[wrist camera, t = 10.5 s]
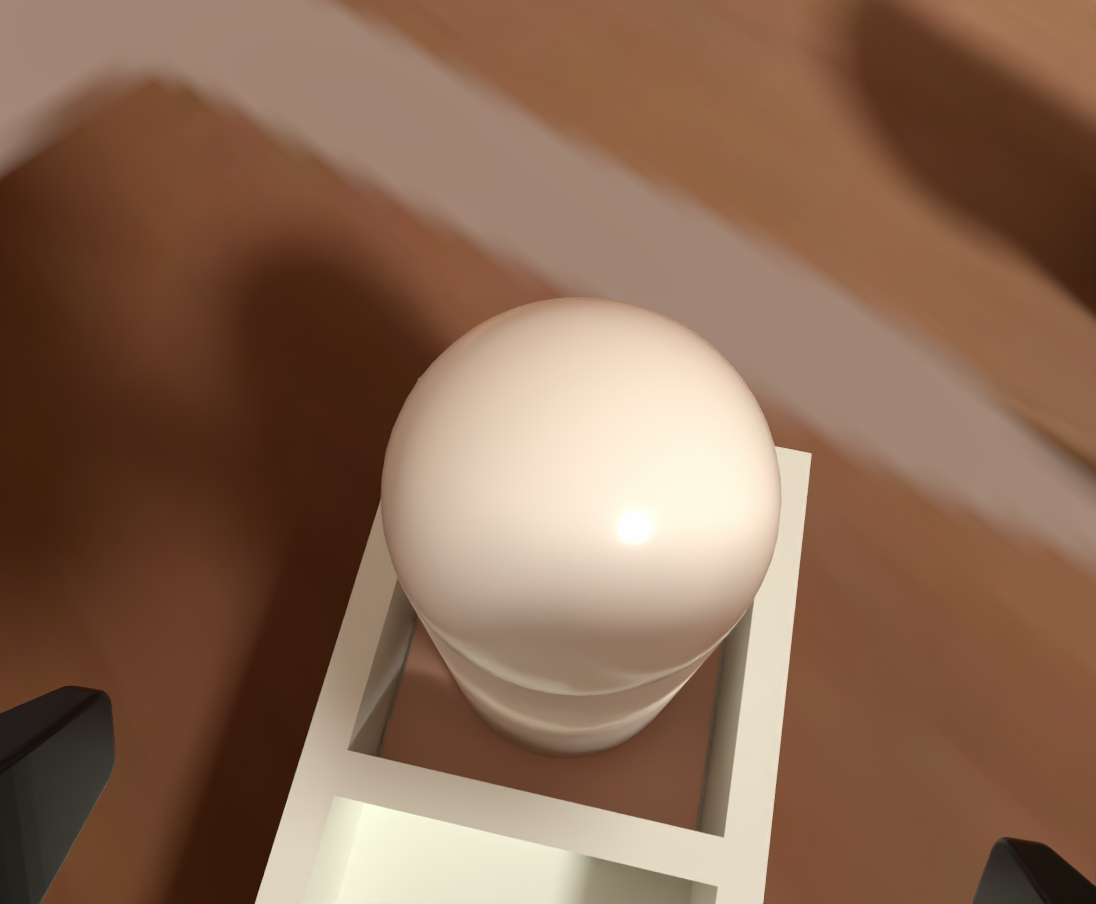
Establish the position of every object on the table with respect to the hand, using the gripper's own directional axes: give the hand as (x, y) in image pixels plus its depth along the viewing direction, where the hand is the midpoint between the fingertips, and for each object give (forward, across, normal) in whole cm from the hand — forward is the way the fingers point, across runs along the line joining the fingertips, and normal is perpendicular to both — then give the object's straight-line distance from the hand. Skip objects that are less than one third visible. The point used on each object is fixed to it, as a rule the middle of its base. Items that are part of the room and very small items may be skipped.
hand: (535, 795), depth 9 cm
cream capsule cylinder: (+10, 0, +5) cm, 11 cm away
